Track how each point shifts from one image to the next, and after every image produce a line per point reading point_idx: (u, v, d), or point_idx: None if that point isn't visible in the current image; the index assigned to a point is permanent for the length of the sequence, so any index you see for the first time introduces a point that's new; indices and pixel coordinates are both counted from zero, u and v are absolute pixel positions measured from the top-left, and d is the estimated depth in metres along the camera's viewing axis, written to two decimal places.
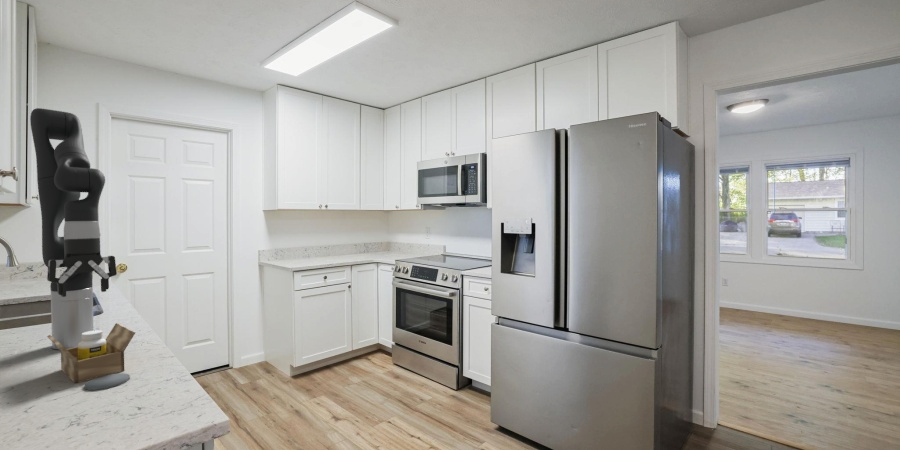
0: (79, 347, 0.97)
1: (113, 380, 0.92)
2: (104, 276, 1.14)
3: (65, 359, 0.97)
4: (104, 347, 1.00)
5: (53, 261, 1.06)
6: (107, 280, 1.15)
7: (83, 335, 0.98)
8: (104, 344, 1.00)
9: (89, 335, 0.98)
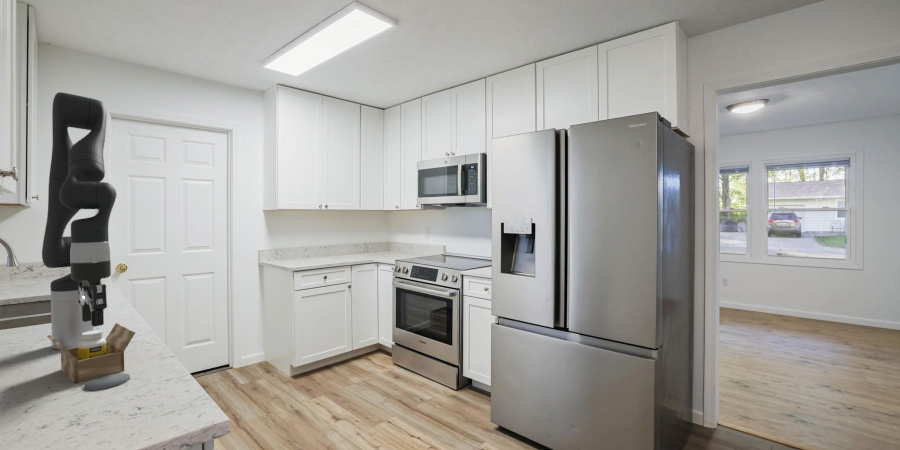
0: (79, 347, 0.97)
1: (113, 380, 0.92)
2: None
3: (65, 359, 0.97)
4: (104, 347, 1.00)
5: None
6: None
7: (83, 335, 0.98)
8: (104, 344, 1.00)
9: (89, 335, 0.98)
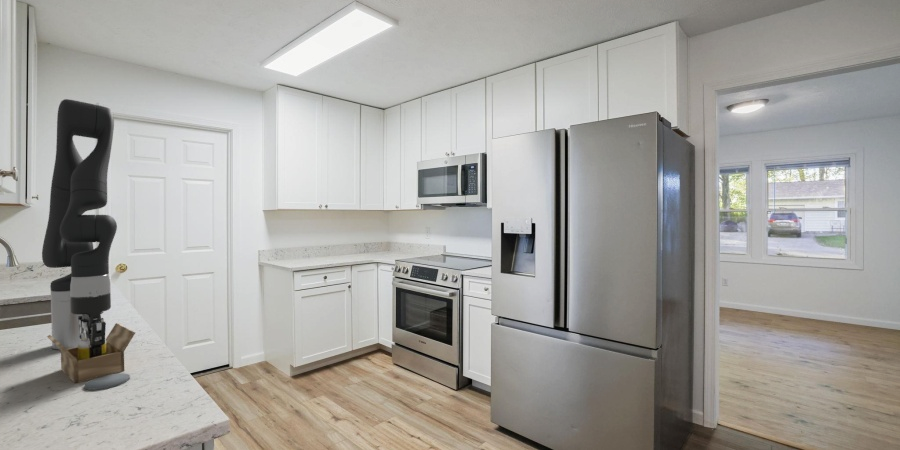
0: (79, 347, 0.97)
1: (113, 380, 0.92)
2: None
3: (65, 359, 0.97)
4: (104, 347, 1.00)
5: None
6: None
7: (83, 335, 0.98)
8: (104, 344, 1.00)
9: None
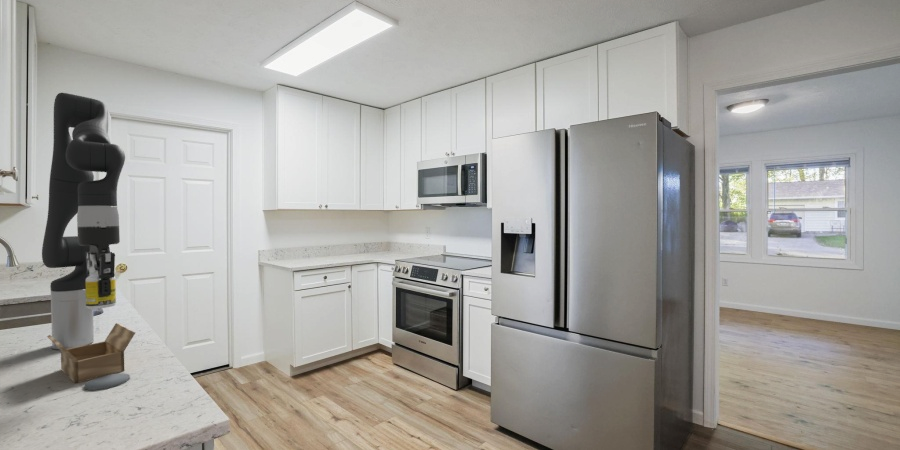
0: (87, 281, 0.92)
1: (113, 380, 0.92)
2: None
3: (65, 359, 0.97)
4: (113, 282, 0.95)
5: None
6: None
7: (91, 268, 0.92)
8: (113, 279, 0.95)
9: None
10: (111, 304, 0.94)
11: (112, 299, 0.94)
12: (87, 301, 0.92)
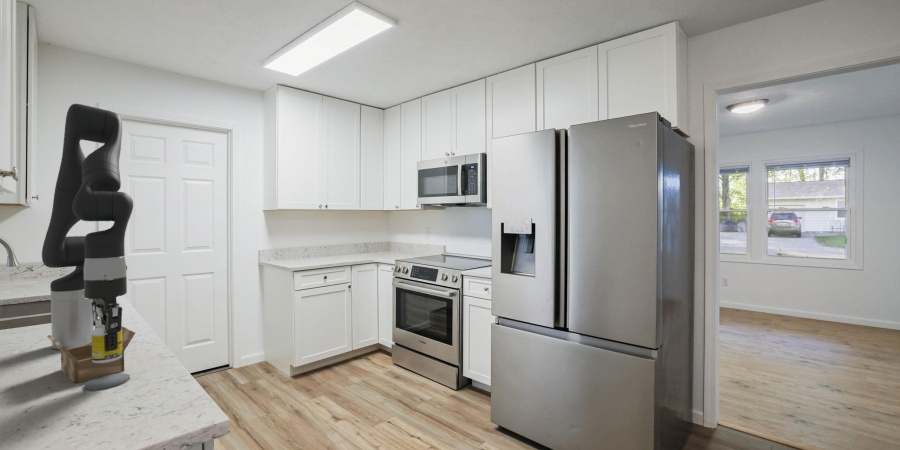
0: (93, 334, 0.90)
1: (113, 380, 0.92)
2: None
3: (65, 359, 0.97)
4: (120, 335, 0.93)
5: None
6: None
7: (97, 321, 0.90)
8: None
9: None
10: (117, 357, 0.92)
11: (118, 352, 0.92)
12: (93, 355, 0.90)
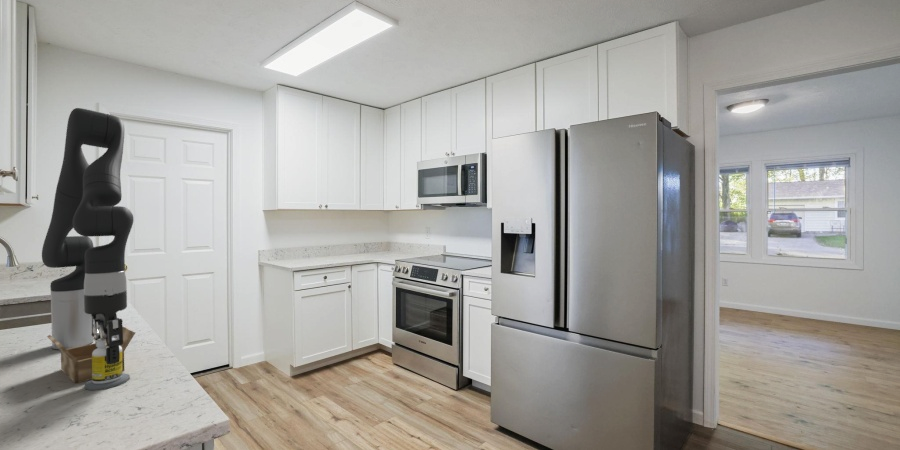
0: (94, 355, 0.90)
1: None
2: None
3: (65, 359, 0.97)
4: (120, 355, 0.93)
5: None
6: None
7: (98, 342, 0.90)
8: (120, 352, 0.93)
9: (104, 342, 0.90)
10: (118, 377, 0.92)
11: (119, 372, 0.92)
12: (93, 376, 0.90)
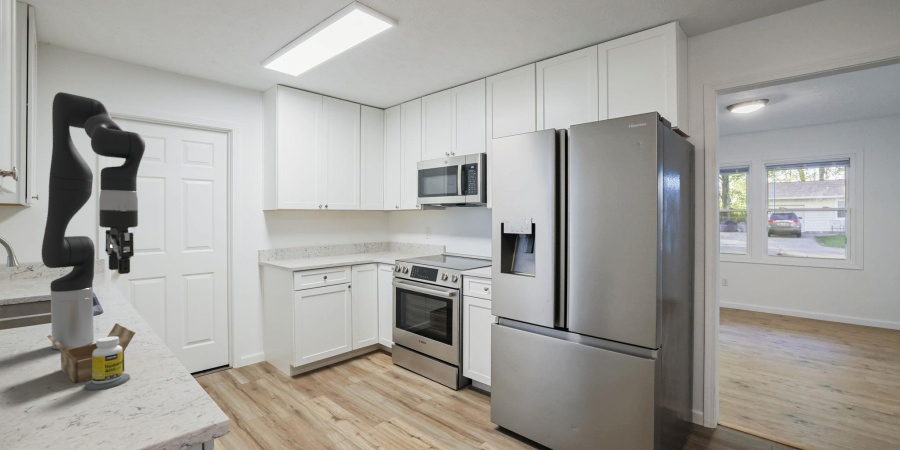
0: (94, 355, 0.90)
1: None
2: None
3: (65, 359, 0.97)
4: (120, 355, 0.93)
5: None
6: None
7: (98, 342, 0.90)
8: (120, 351, 0.93)
9: (105, 342, 0.90)
10: (118, 377, 0.92)
11: (119, 372, 0.92)
12: (93, 376, 0.90)
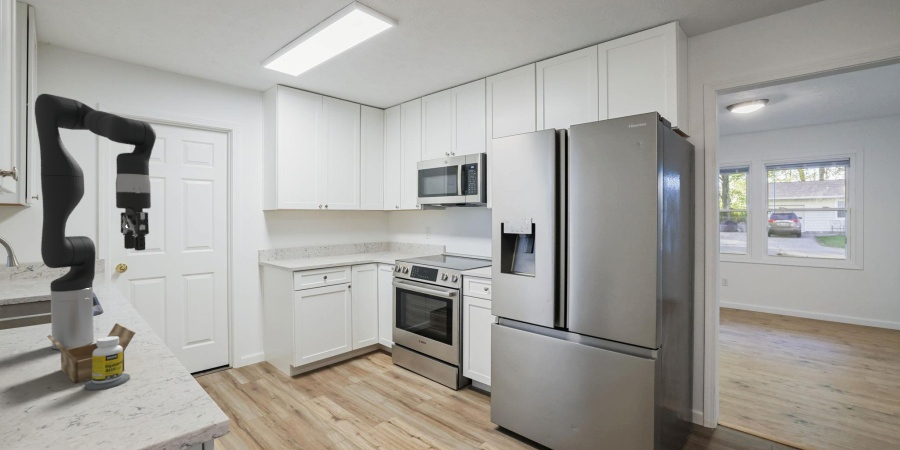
0: (94, 355, 0.90)
1: None
2: None
3: (65, 359, 0.97)
4: (120, 355, 0.93)
5: None
6: None
7: (99, 342, 0.90)
8: (121, 351, 0.93)
9: (105, 342, 0.91)
10: (118, 377, 0.92)
11: (119, 372, 0.92)
12: (94, 376, 0.90)
